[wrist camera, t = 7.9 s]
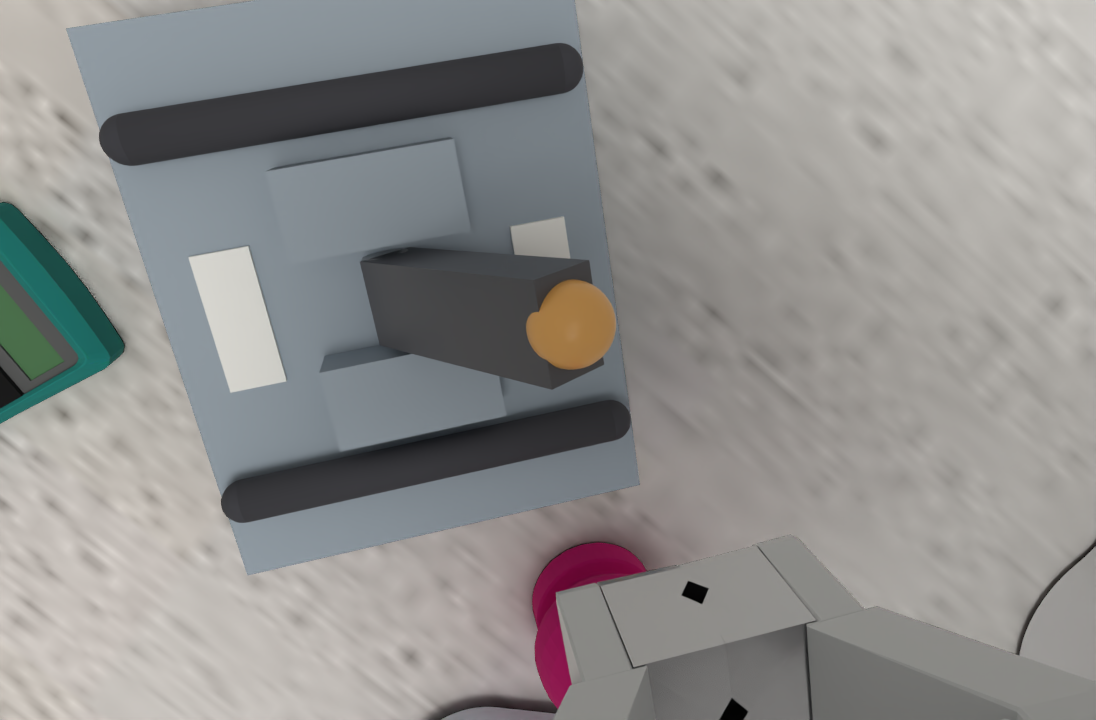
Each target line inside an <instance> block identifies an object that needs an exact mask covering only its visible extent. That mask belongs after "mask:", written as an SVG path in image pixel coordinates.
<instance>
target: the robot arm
mask: <svg viewBox="0 0 1096 720" xmlns="http://www.w3.org/2000/svg"><path fill="white" fill-rule="evenodd" d="M556 604H557V609H558V614H559V620H560V625H561V630H562V636H563V641H564V646H565V652H566V657H567V662H568V668H569V673H570V678H571V682H572V685H571V686H569V688H568V690H567V692H566V694H565V696H564V698H563V700H562V702H561V704H560V706H559V708H558V710H557V712H556V714H555V716H554V718H553V720H1096V546H1095V547H1094V548H1093V550H1092V551H1091V552H1089V553H1088V554H1087V555H1086V556H1085V557H1084V558H1083V559H1082V560H1081V561H1079V562H1078V563H1077V564H1076V565H1075V566H1074V567H1073V568H1071V569H1070V570H1069V571H1068V572H1067V573H1066V574H1065V575H1064V576H1063V577H1062V578H1061V579H1060V580H1059V581H1058V582H1057V583H1056V584H1055V586H1054V587H1053V588H1052V589H1051V590H1050V591H1049V593H1048V594H1047V595H1046V597H1045V598H1044V599H1043V601H1042V602H1041V604H1040V605H1039V607H1038V609H1037V610H1036V612H1035V614H1034V615H1033V617H1032V619H1031V621H1030V623H1029V626H1028V628H1027V630H1026V633H1025V636H1024V639H1023V642H1022V645H1021V650H1020V655H1016V654H1013V653H1011V652H1008V651H1005V650H1002V649H999V648H996V647H993V646H990V645H987V644H985V643H982V642H979V641H976V640H973V639H970V638H967V637H964V636H961V635H958V634H956V633H953V632H950V631H947V630H944V629H941V628H938V627H935V626H932V625H930V624H927V623H924V622H921V621H918V620H915V619H912V618H909V617H906V616H903V615H901V614H898V613H895V612H892V611H889V610H886V609H883V608H880V607H873V608H869V609H864V608H863V607H862V605H861V604H860V603H859V602H858V601H857V600H856V599H855V598H854V597H853V596H852V595H851V594H850V593H849V592H848V591H847V589H846V588H845V587H844V586H843V585H842V584H841V583H840V582H839V581H838V580H837V579H836V578H835V577H834V576H833V575H832V574H831V572H830V571H829V570H828V569H827V568H826V567H825V566H824V565H823V564H822V563H821V562H820V561H819V560H818V559H817V558H816V556H815V555H814V554H813V553H812V552H811V551H810V550H809V549H808V548H807V547H806V546H805V545H804V544H803V543H802V542H801V540H800V539H799V538H798V537H795V536H793V535H787V536H783V537H780V538H776V539H772V540H769V541H765V542H762V543H758V544H755V545H752V546H751V547H747V548H743V549H739V550H736V551H732V552H728V553H724V554H720V555H716V556H712V557H709V558H705V559H701V560H697V561H693V562H689V563H685V564H682V565H678V566H677V565H673V566H669V567H664V568H660V569H655V570H651V571H646V572H642V573H637V574H633V575H628V576H624V577H619V578H614V579H610V580H605V581H601V582H597V584H596V583H592V584H588V585H584V586H579V587H575V588H571V589H567V590H563V591H559V592H556Z"/></svg>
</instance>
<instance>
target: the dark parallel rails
mask: <svg viewBox="0 0 1096 720" xmlns="http://www.w3.org/2000/svg"><path fill="white" fill-rule="evenodd" d="M582 75H583V61H582V58H581V56H580V54H579V53H578V51H577V50H576V49H575V48H573V47H572V46H570V45H568V44H564V43H554V44H548V45H542V46H535V47H529V48H523V49H517V50H511V51H504V52H498V53H492V54H486V55H480V56H473V57H467V58H461V59H455V60H449V61H442V62H436V63H430V64H424V65H418V66H411V67H405V68H399V69H393V70H387V71H381V72H374V73H368V74H362V75H356V76H350V77H343V78H337V79H331V80H325V81H319V82H312V83H306V84H300V85H294V86H288V87H281V88H275V89H269V90H263V91H257V92H250V93H244V94H238V95H232V96H226V97H220V98H213V99H207V100H201V101H195V102H189V103H182V104H176V105H170V106H164V107H158V108H151V109H145V110H139V111H133V112H127V113H120V114H116V115H113V116H111V117H109V118H108V119H107V120H106V121H105V122H104V123H103V125H102V126H101V129H100V132H99V141H100V144H101V147H102V149H103V151H104V152H105V153H106V154H107V156H108V157H109V158H111V159H112V160H113V161H115V162H117V163H119V164H122V165H127V166H137V165H143V164H149V163H155V162H161V161H167V160H173V159H178V158H184V157H190V156H196V155H202V154H208V153H214V152H220V151H226V150H232V149H238V148H243V147H249V146H255V145H261V144H267V143H273V142H279V141H285V140H291V139H297V138H303V137H308V136H314V135H320V134H326V133H332V132H338V131H344V130H350V129H356V128H362V127H368V126H373V125H379V124H385V123H391V122H397V121H403V120H409V119H415V118H421V117H427V116H433V115H438V114H444V113H450V112H456V111H462V110H468V109H474V108H480V107H486V106H492V105H498V104H503V103H509V102H515V101H521V100H527V99H533V98H539V97H545V96H551V95H557V94H563V93H566V92H569V91H571V90H572V89H574V88H575V87H576V86H577V85H578V84H579V82H580V80H581V78H582ZM630 425H631V416H630V413H629V411H628V409H627V408H626V406H625V405H623V404H622V403H620V402H618V401H615V400H605V401H600V402H595V403H591V404H586V405H582V406H577V407H572V408H568V409H563V410H559V411H554V412H549V413H545V414H540V415H536V416H531V417H526V418H522V419H517V420H512V421H508V422H503V423H499V424H494V425H489V426H485V427H480V428H476V429H471V430H466V431H462V432H457V433H453V434H448V435H443V436H439V437H434V438H430V439H425V440H420V441H416V442H411V443H406V444H402V445H397V446H393V447H388V448H383V449H379V450H374V451H370V452H365V453H360V454H356V455H351V456H347V457H342V458H337V459H333V460H328V461H324V462H319V463H314V464H310V465H305V466H300V467H296V468H291V469H287V470H282V471H277V472H273V473H268V474H264V475H259V476H254V477H250V478H245V479H241V480H237V481H235V482H233V483H231V484H230V485H229V486H228V487H227V488H226V489H225V491H224V493H223V495H222V499H221V506H222V510H223V512H224V513H225V515H226V516H227V517H228V518H229V519H231V520H233V521H235V522H238V523H247V522H252V521H257V520H261V519H266V518H270V517H275V516H279V515H284V514H288V513H293V512H297V511H302V510H306V509H311V508H315V507H319V506H324V505H328V504H333V503H337V502H342V501H346V500H351V499H355V498H360V497H364V496H369V495H373V494H378V493H382V492H387V491H391V490H396V489H400V488H405V487H409V486H413V485H418V484H422V483H427V482H431V481H436V480H440V479H445V478H449V477H454V476H458V475H463V474H467V473H472V472H476V471H481V470H485V469H490V468H494V467H499V466H503V465H507V464H512V463H516V462H521V461H525V460H530V459H534V458H539V457H543V456H548V455H552V454H557V453H561V452H566V451H570V450H575V449H579V448H584V447H588V446H593V445H597V444H601V443H606V442H610V441H615V440H618V439H620V438H622V437H623V436H624V435H626V433H627V432H628V430H629V428H630Z"/></svg>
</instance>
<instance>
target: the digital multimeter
mask: <svg viewBox="0 0 1096 720" xmlns="http://www.w3.org/2000/svg"><path fill="white" fill-rule="evenodd" d="M123 352H124V344H123V342H122V340H121V338H120V337H119V335H118V334H117V332H116V331H115V329H114V328H113V326H112V325H111V323H110V322H109V320H108V319H107V317H106V315H105V314H104V313H103V311H102V310H101V308H100V307H99V305H98V304H97V303H96V301H95V300H94V298H93V297H92V295H91V294H90V293H89V291H88V290H87V288H86V287H85V286H84V284H83V283H82V282H81V281H80V279H79V278H78V277H77V276H76V274H75V273H74V272H73V271H72V269H71V268H70V267H69V266H68V264H67V263H66V262H65V261H64V259H63V258H62V257H61V256H60V255H59V254H58V253H57V252H56V250H55V249H54V248H53V247H52V246H51V245H50V244H49V243H48V241H47V240H46V239H45V238H44V237H43V236H42V235H41V234H40V233H39V232H38V231H37V229H36V228H35V227H34V226H33V225H32V224H31V223H30V222H29V221H28V220H27V219H26V218H25V217H24V216H23V215H22V214H21V212H20V211H19V210H18V209H17V208H15V207H14V206H13V205H12V204H9V203H4V202H2V203H0V424H1V423H2V422H4V421H6V420H8V419H9V418H11V417H13V416H15V415H17V414H18V413H20V412H22V411H24V410H26V409H28V408H30V407H32V406H34V405H36V404H38V403H40V402H42V401H44V400H45V399H47V398H49V397H51V396H53V395H55V394H57V393H59V392H61V391H63V390H65V389H67V388H69V387H70V386H72V385H74V384H76V383H78V382H80V381H82V380H84V379H86V378H88V377H90V376H92V375H94V374H96V373H97V372H99V371H101V370H103V369H105V368H106V367H107V366H109V365H110V364H111V363H112V362H113V361H115V360H116V359H117V358H118V357H119V356H120V355H121V354H122V353H123Z"/></svg>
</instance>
